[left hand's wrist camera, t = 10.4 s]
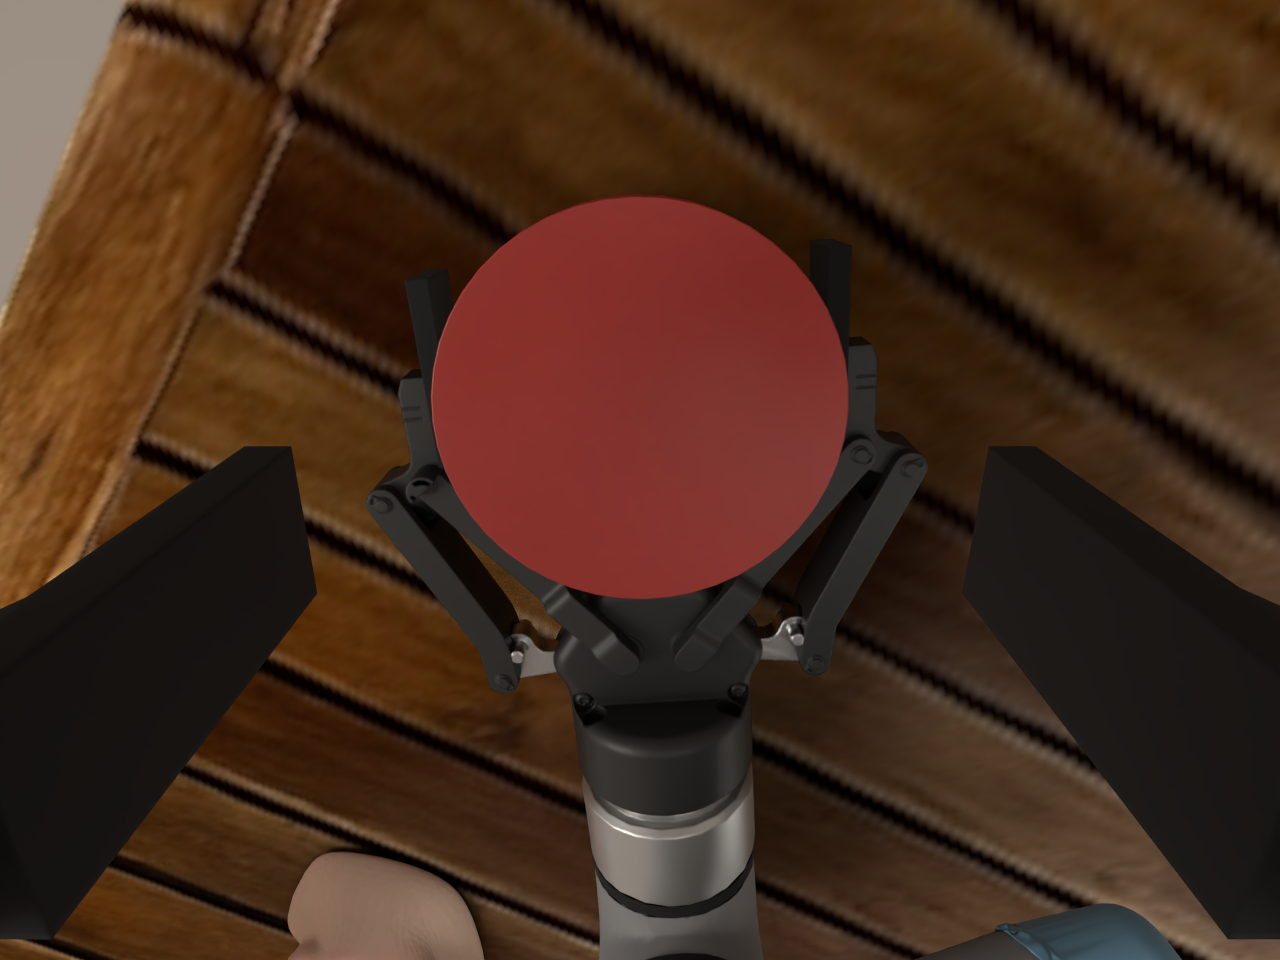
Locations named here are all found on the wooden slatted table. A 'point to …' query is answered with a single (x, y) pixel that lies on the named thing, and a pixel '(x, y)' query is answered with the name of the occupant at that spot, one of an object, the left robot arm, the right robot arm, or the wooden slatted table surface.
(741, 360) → the lid
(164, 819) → the wooden slatted table surface
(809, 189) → the wooden slatted table surface
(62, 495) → the wooden slatted table surface
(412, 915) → the anatomical model
